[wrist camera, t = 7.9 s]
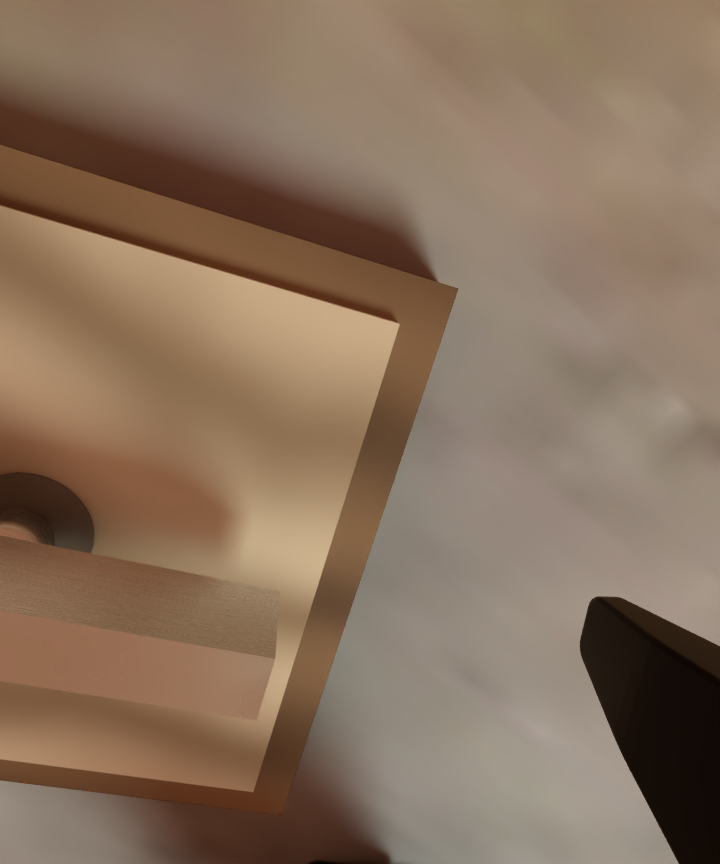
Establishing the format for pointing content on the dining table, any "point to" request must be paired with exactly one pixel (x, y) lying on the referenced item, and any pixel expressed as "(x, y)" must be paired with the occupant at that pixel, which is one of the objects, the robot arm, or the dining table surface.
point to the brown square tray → (197, 450)
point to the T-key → (130, 627)
